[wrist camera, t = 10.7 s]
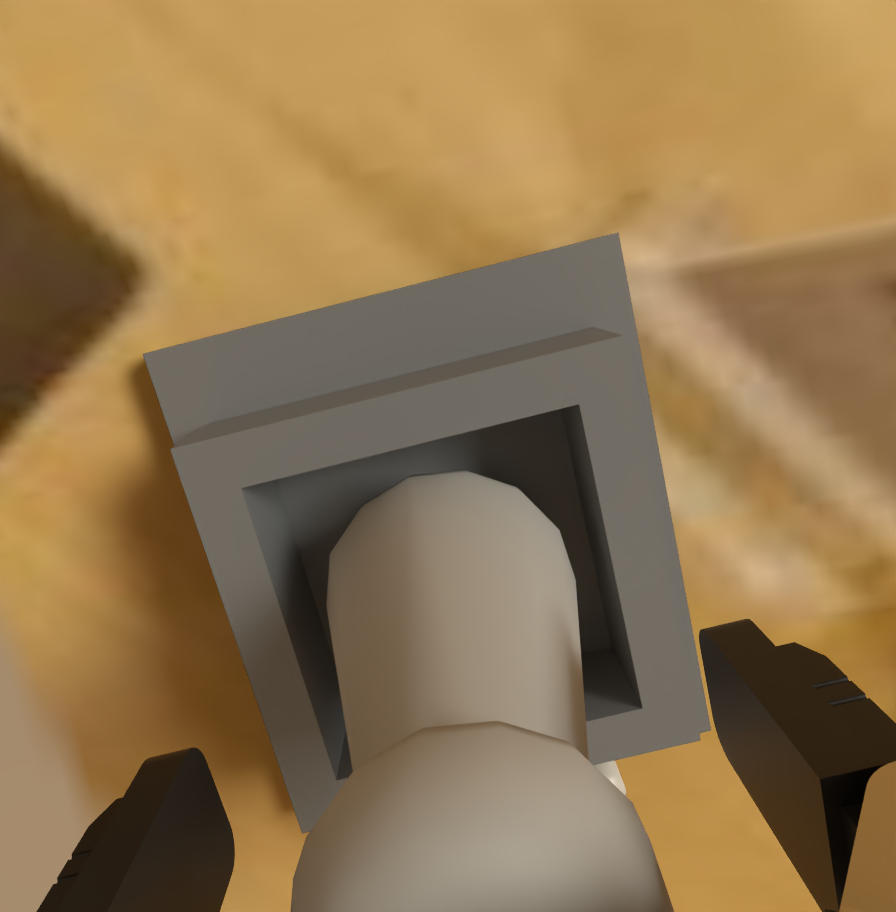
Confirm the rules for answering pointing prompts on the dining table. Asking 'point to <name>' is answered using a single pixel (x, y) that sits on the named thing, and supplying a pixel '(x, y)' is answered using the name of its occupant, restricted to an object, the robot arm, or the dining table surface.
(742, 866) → the dining table surface
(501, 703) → the salt shaker
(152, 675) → the dining table surface
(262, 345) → the socket
